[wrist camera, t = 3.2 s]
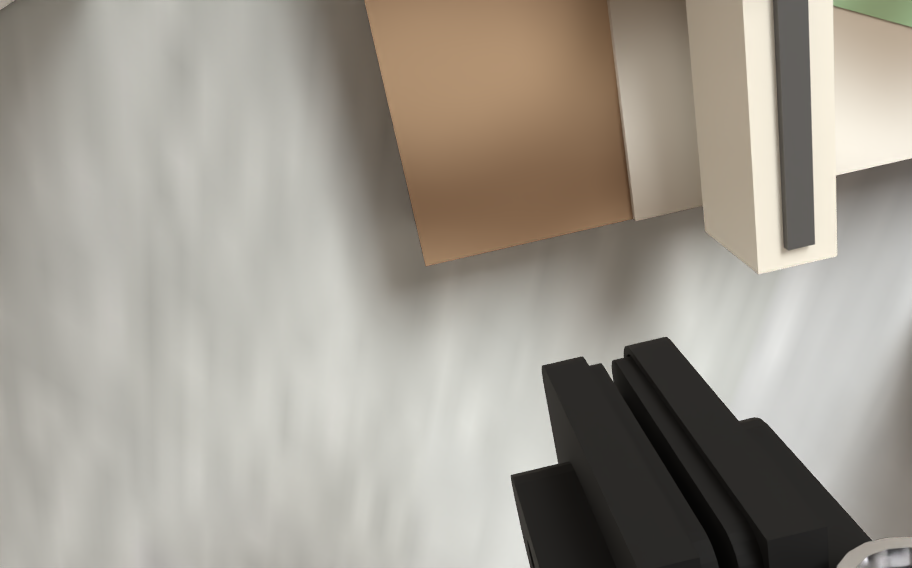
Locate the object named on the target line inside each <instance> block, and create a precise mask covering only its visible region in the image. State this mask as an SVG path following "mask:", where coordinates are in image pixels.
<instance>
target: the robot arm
mask: <svg viewBox="0 0 912 568" xmlns="http://www.w3.org/2000/svg"><path fill="white" fill-rule="evenodd" d="M612 374H613V381H614V383H613V381H612V379H611V378H610V376H609V374H608V373H607V371H606V370H605V368H604V366H603V365H602V364H601V363H599V364H595V365H591V366H589V365H588V364H587V362H586V360H585V359H584V357H577V358H573V359H569V360H565V361H560V362H556V363H552V364H547V365H543V366H542V376H543V383H544V388H545V393H546V399H547V404H548V410H549V415H550V421H551V426H552V432H553V437H554V443H555V448H556V453H557V459H558V464H556V465H552V466H547V467H543V468H539V469H535V470H530V471H526V472H522V473H518V474H514V475H511V481H512V487H513V492H514V497H515V501H516V506H517V511H518V516H519V520H520V525H521V530H522V534H523V538H524V543H525V547H526V551H527V555H528V559H529V564H530V568H912V537H887V538H882V539H878V540H874V541H872V540H871V539H870V538H869V537H868V536H867V535H866V533H865V532H864V531H863V530H862V529H861V528H860V527H859V526H858V525H857V523H856V522H855V521H854V520H853V519H852V518H851V517H850V516H849V514H848V513H847V512H846V511H845V510H844V509H843V508H842V507H841V506H840V504H839V503H838V502H837V501H836V500H835V499H834V498H833V497H832V496H831V494H830V493H829V492H828V491H827V490H826V489H825V488H824V487H823V486H822V484H821V483H820V482H819V481H818V480H817V479H816V478H815V477H814V476H813V474H812V473H811V472H810V471H809V470H808V469H807V468H806V467H805V466H804V464H803V463H802V462H801V461H800V460H799V459H798V458H797V457H796V456H795V454H794V453H793V452H792V451H791V450H790V449H789V448H788V447H787V446H786V444H785V443H784V442H783V441H782V440H781V439H780V438H779V437H778V436H777V434H776V433H775V432H774V431H773V430H772V429H771V428H770V427H769V426H768V424H766V423H765V422H764V421H763V420H762V419H760V418H755V417H754V418H750V419H746V420H741V421H738V420H737V418H736V417H735V416H734V415H733V414H732V413H731V411H730V410H729V409H728V408H727V407H726V405H725V404H724V403H723V402H722V401H721V399H720V398H719V397H718V396H717V395H716V394H715V392H714V391H713V390H712V389H711V388H710V386H709V385H708V384H707V383H706V382H705V380H704V379H703V378H702V377H701V376H700V375H699V373H698V372H697V371H696V370H695V369H694V367H693V366H692V365H691V364H690V363H689V361H688V360H687V359H686V358H685V357H684V356H683V354H682V353H681V352H680V351H679V350H678V348H677V347H676V346H675V345H674V344H673V342H672V341H671V340H670V339H669V338H668V337H663V338H659V339H655V340H650V341H646V342H642V343H637V344H633V345H629V346H625V348H624V358H621V359H617V360H613V361H612Z"/></svg>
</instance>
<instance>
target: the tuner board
mask: <svg viewBox="0 0 912 568" xmlns="http://www.w3.org/2000/svg"><path fill="white" fill-rule="evenodd" d="M364 2H365V6H366V10H367V15H368V19H369V23H370V28H371V32H372V36H373V41H374V45H375V49H376V54H377V58H378V62H379V67H380V71H381V75H382V80H383V84H384V88H385V93H386V97H387V101H388V106H389V110H390V114H391V119H392V123H393V127H394V132H395V136H396V140H397V145H398V149H399V153H400V158H401V162H402V166H403V170H404V175H405V179H406V183H407V188H408V192H409V196H410V201H411V205H412V209H413V214H414V218H415V222H416V227H417V231H418V235H419V240H420V244H421V248H422V253H423V257H424V261H425V266H429V265H434V264H438V263H442V262H447V261H451V260H456V259H460V258H464V257H469V256H473V255H478V254H482V253H486V252H491V251H495V250H499V249H504V248H508V247H513V246H517V245H521V244H526V243H530V242H534V241H539V240H543V239H548V238H552V237H556V236H561V235H565V234H569V233H574V232H578V231H583V230H587V229H591V228H596V227H600V226H604V225H609V224H613V223H618V222H622V221H626V220H631V219H634V220H635V221H639V220H643V219H648V218H652V217H657V216H661V215H665V214H670V213H674V212H678V211H683V210H687V209H692V208H696V207H700V206H703V201H702V189H701V177H700V165H699V153H698V142H697V130H696V118H695V106H694V94H693V82H692V70H691V58H690V47H689V35H688V23H687V11H686V0H364ZM833 34H834V94H835V153H836V175H840V174H845V173H849V172H854V171H858V170H862V169H867V168H871V167H875V166H880V165H884V164H889V163H893V162H897V161H902V160H906V159H910V158H912V0H833Z"/></svg>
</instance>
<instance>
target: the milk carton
mask: <svg viewBox="0 0 912 568" xmlns="http://www.w3.org/2000/svg"><path fill="white" fill-rule="evenodd" d="M13 1H15V0H0V10H1V9H2V8H4V7H6V6H7V5H9V4H10V3H12V2H13Z"/></svg>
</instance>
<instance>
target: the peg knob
mask: <svg viewBox="0 0 912 568" xmlns="http://www.w3.org/2000/svg"><path fill="white" fill-rule="evenodd" d="M686 11H687V23H688V35H689V47H690V58H691V70H692V82H693V94H694V106H695V118H696V130H697V142H698V153H699V165H700V177H701V189H702V201H703V213H704V225H705V232H706V233H707V234H709V235H710V236H711V237H712V238H714V239H715V240H716V241H717V242H719V243H720V244H721V245H722V246H724V247H725V248H726V249H727V250H729V251H730V252H731V253H732V254H734V255H735V256H736V257H737V258H739V259H740V260H741V261H742V262H744V263H745V264H746V265H747V266H749V267H750V268H751V269H752V270H754V271H755V272H756V273H757V274H762V273H767V272H771V271H775V270H780V269H784V268H788V267H793V266H797V265H801V264H806V263H810V262H814V261H819V260H823V259H827V258H832V257H836V256H837V213H836V153H835V94H834V34H833V0H686Z"/></svg>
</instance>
